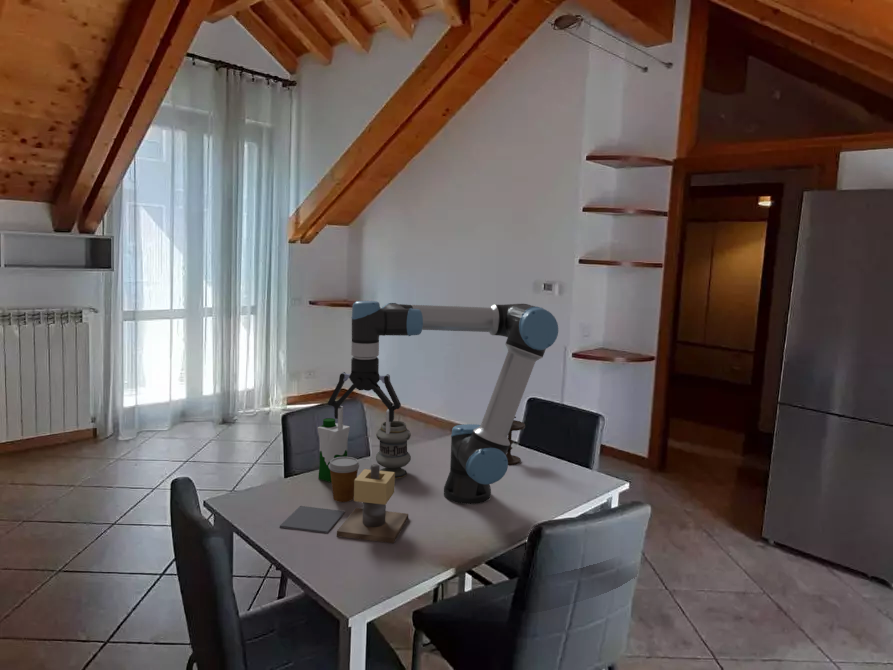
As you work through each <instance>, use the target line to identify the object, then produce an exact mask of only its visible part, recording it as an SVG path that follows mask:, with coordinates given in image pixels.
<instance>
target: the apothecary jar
mask: <svg viewBox="0 0 893 670" xmlns="http://www.w3.org/2000/svg"><path fill="white" fill-rule="evenodd" d="M375 434H376V439H378V441H379V452H377V454H376V456H375V461H376V462H377V463H376V464H378V465H380V467H383V468H381V469H380V470H379V471H388V472H395V480H396V479H397V480H398V479H401V478H404V477H406V476H407V474H408V472H407V470H406V469H404V468H403V467H405V466H407V465H408V464H409V463H410V462H411V459H412V458H411V454H410V452H409V451H408V441H409V440H410V439H411V436H412V435H411V432H410V430H409V429H408V428H407V424H406V422H405V421H401V420H393V422H390V432H389V434H386V421H383V422H381V425H380V428H379V429H378V430H377V431H376V433H375Z"/></svg>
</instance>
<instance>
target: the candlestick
mask: <svg viewBox="0 0 893 670" xmlns="http://www.w3.org/2000/svg"><path fill="white" fill-rule="evenodd" d="M516 418H517V416H515V417H514V420H513V423H512V425H511V428H510V431H509V433H508V440H509V442H510V446H509V448H508V451H507V454H506V457H507V460H508V466H517V465H519V464H521V461H522V460H521V458H520V457H519V456H516V455H512V453H511V452H512V450H513V447H512V445H513V444H514V441H513V440H512V437H513V436H512V435H513V434H512V433H513V432H514V431H515V432H517V431H523V430H525V428H526V424H525V422H523V421H520V420H515V419H516Z"/></svg>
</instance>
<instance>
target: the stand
mask: <svg viewBox="0 0 893 670" xmlns="http://www.w3.org/2000/svg"><path fill="white" fill-rule="evenodd" d="M380 467H381V465H379V464H378V463H376V464H371V465H370V470H371V479H377V480H379V471H380V470H381V469H380ZM386 506H387V504H386V505H383V504H375V503H366V502H362V507H355V508H354V509H353V510H352V512H351V513H350V514H349V515H348V517H347V518H346V519H345V520H344V522H343V523H342V524H341V525H340V527H338V529H337V530H336V537H340V538H347V539H357V540H363V541H371V542H380V543H388V544H394V543H395V542H396V540H397V539H398V537H399V536H400V534H401V532H402V530H403V528H404V526H405V525H406V523H407V522H408V520H409V513H405V512H396V511H388V510H386V509H387V507H386Z"/></svg>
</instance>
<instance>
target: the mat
mask: <svg viewBox="0 0 893 670" xmlns="http://www.w3.org/2000/svg"><path fill="white" fill-rule="evenodd" d="M345 513H346V512H345V510H340V509H333V508H332V509H330V508H323V507H322V508H321V507H315V506H314V507H312V506H306V505H304V506H303V505H300V506H298V507H297V509H295V510H294V511H293V512H292V513H291V514H290V515H289V516H288V517H287V518H286V519H285V520H284V521H283V522H282V523H281V524H280V525H279V528H282V529H283V528H284V529H291V530H299V531H305V532H306V531H307V532H315V533H324V534H329V533H330V531H332V529H333V528H334V527H335V525H336V524H337V523H338V522H339V520H340V519H341V518H342V517H343V516H344V515H345Z"/></svg>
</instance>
